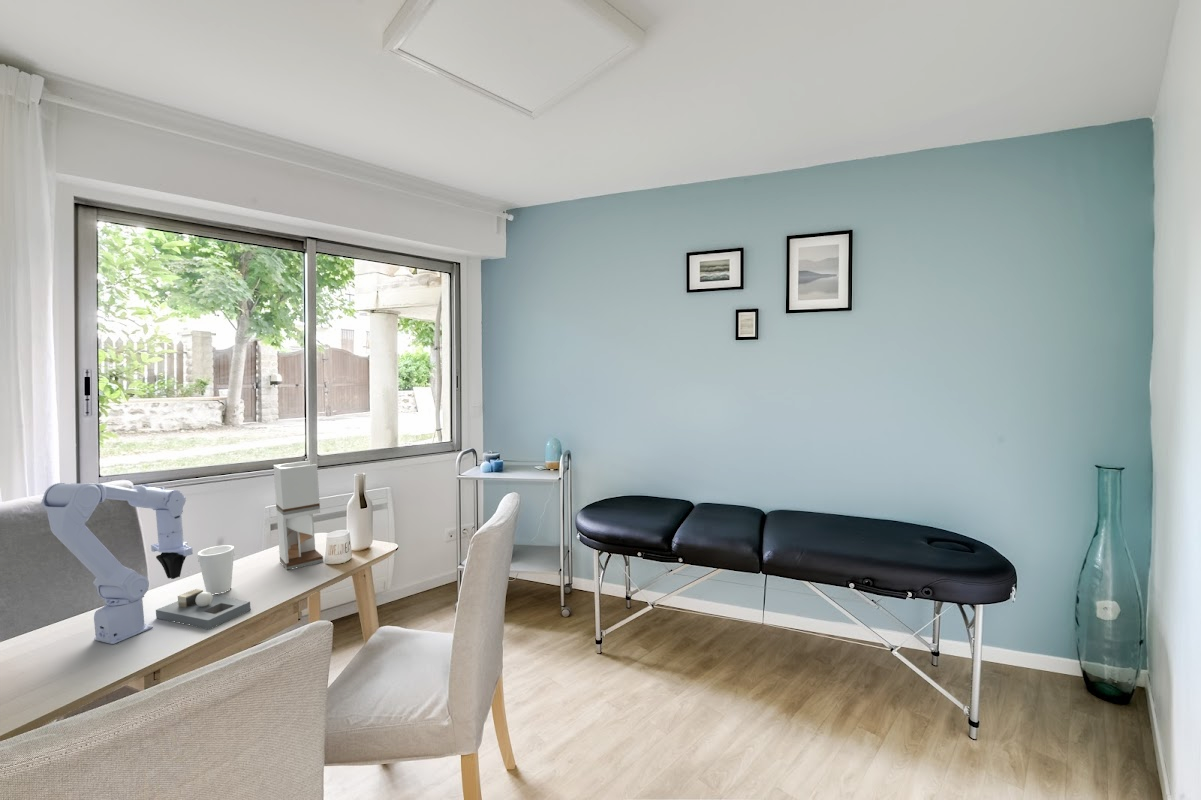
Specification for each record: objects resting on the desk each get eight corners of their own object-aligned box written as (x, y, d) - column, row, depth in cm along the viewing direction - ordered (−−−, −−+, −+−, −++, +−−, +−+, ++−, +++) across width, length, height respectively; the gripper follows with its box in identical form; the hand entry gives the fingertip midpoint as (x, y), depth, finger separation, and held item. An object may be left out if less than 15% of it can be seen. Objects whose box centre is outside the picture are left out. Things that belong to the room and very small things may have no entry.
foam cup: (244, 585, 179) (241, 545, 178) (221, 597, 170) (218, 555, 169) (216, 584, 180) (213, 545, 179) (193, 596, 171) (189, 555, 170)
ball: (202, 609, 156) (201, 595, 155) (192, 608, 157) (191, 594, 157) (216, 603, 159) (215, 590, 159) (206, 602, 161) (205, 588, 160)
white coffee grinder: (287, 570, 191) (280, 469, 188) (280, 562, 199) (273, 465, 196) (323, 561, 199) (317, 464, 196) (314, 554, 207) (309, 460, 204)
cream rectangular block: (186, 607, 157) (185, 597, 157) (178, 606, 158) (177, 595, 158) (204, 600, 162) (203, 590, 162) (196, 598, 163) (195, 588, 163)
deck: (208, 629, 149) (208, 620, 149) (156, 618, 157) (155, 609, 156) (250, 610, 161) (250, 601, 160) (199, 600, 168) (199, 592, 168)
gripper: (201, 529, 162) (205, 575, 163) (167, 525, 167) (171, 569, 168) (176, 536, 155) (180, 584, 156) (141, 532, 160) (145, 578, 161)
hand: (173, 577), depth 162 cm, fingers closed
